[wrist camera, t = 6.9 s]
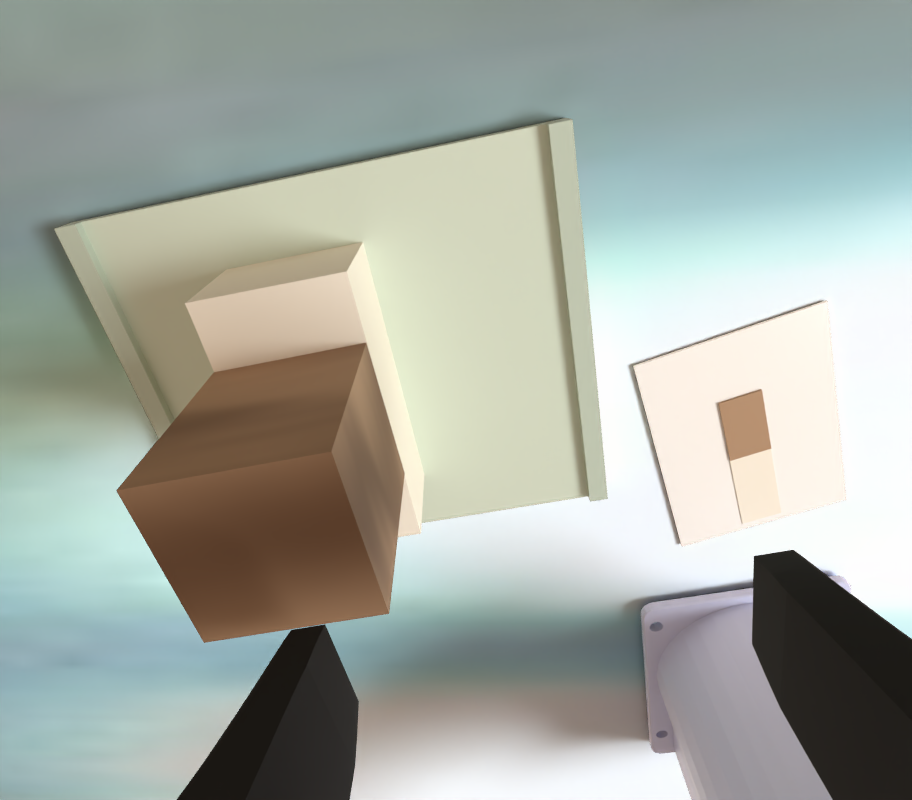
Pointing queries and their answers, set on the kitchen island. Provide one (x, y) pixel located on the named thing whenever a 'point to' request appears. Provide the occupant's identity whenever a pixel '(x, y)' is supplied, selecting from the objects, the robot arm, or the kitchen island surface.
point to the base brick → (309, 332)
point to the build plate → (397, 301)
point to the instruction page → (747, 424)
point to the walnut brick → (275, 496)
